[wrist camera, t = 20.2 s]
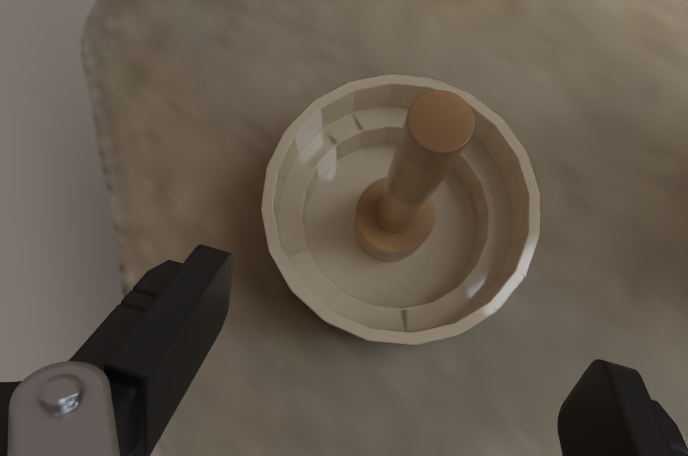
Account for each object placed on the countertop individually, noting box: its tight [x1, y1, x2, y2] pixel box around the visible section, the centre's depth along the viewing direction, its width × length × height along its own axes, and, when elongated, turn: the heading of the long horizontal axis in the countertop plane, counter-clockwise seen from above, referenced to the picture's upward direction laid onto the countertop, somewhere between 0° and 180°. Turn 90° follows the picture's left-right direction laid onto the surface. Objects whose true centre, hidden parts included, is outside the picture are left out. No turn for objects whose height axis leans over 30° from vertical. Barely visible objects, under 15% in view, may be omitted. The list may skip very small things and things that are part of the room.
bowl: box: [261, 74, 540, 345], centre depth 28 cm, size 14×14×6 cm
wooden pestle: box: [354, 90, 475, 261], centre depth 23 cm, size 4×4×15 cm
